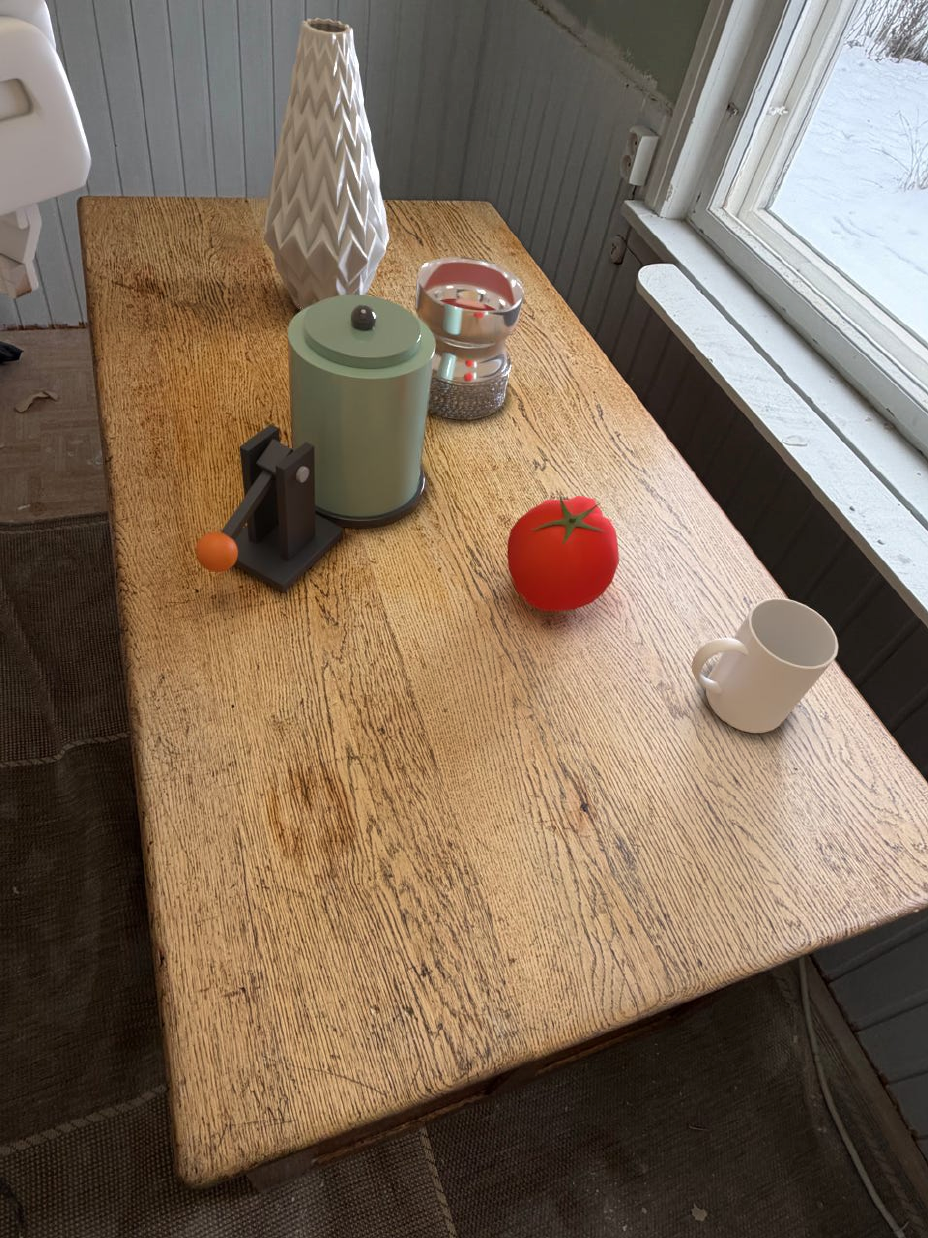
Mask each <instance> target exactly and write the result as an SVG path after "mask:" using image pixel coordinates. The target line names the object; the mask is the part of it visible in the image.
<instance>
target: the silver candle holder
mask: <svg viewBox="0 0 928 1238" xmlns="http://www.w3.org/2000/svg"><path fill="white" fill-rule="evenodd" d="M415 287H416V288H415V295H414V307H415V313H416V316H417V317H418V318H419V319H421V320H422V321H423V322H424V323H425V324H426V325H427V326H428V327H429V329H430V330H431V332H432V333H433V335H434V338H435V344H436V347H435V355H434V364H433V372H432V380H431V388H430V397H429V405H428V414H432V415H434V416H436V417H439V418H442V419H446V420H453V421H475V420H481V419H485V418H487V417H489V416H492V415H494V414H495V413H497V411H499V410H500V409H501V408H502V406H503V404H504V401H505V396H506V392H507V388H508V382H509V377H510V372H511V367H512V359H511V356H510V354H509V352H508V350H507V346H506V342H507V339H508V338H509V337H510V336H511V334H513V332H514V331H515V330H516V328H517V326H518V324H519V321H520V318H521V312H522V308H523V303H524V299H525V288H524V285H523V283H522V281H521V279H519V277H518V276H516V274H514V273H512V272H511V271H510V270H508V269H506V268H505V267H503V266H501V265H499V264H496V263H494V262H491V261H488V260H484V259H480V258H474V257H466V256H447V257H440V258H436V259H433V260H431V261H429V262H427V263H424V265H422V267H421V268H420V269H419V271H418V272H417V276H416V286H415Z"/></svg>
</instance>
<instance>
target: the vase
mask: <svg viewBox="0 0 928 1238" xmlns="http://www.w3.org/2000/svg"><path fill="white" fill-rule="evenodd" d="M300 29H301V30H300V34H299V36H298V42H297V46H296V52H295V61H294V63H293V66H292V70H291V77H290V87H289V96H288V99H287V104H286V108H285V112H284V116H283V120H282V127H281V130H280V134H279V141H278V144H277V145H278V146H277V151H276V155H275V157H274V164H273V173H272V177H271V182H270V187H269V191H268V195H267V202H266V210H265V214H264V219H263V227H264V231H263V241H264V242H265V243H266V245H267V246H268V248H269V249H270V251H271V252H272V254H273V260H274V265H275V268H276V270H277V273H278V274H279V276H280V278H281V280H282V283H283V284H284V286H285V288H286V290H287V291H288V294H289V295H290V298H291V300H292V303H293V304H294V306H295V307H296V308H297V309H298V310H299V312H300V311H302V310H303V309H305V308H307V307H309V306H311V305H314V304H315V303H317V302H319V301H321V300H324V299H326V298H330V297H334V296H340V295H367V294H368V293H369V291H370V288H371V286H372V283H373V282H374V279H375V277H376V272H377V269H378V267H379V263H380V262H381V261H382V260H383V258H384V256H385V255H386V251H387V245H388V244H389V241H390V234H389V233H390V232H389V228H388V227H389V226H388V224H387V212H386V207H385V204H384V201H383V197H382V193H381V189H380V171H379V168H378V165H377V161H376V157H375V152H374V148H373V144H372V132H371V128H370V125H369V121H368V117H367V113H366V109H365V98H364V95H363V94H364V93H363V86H362V79H361V75H360V69H359V68H360V65H359V61H358V57H357V53H356V49H355V41H354V29H353V28H352V27H350V25H349V24H347V23H342V22H341V21H340V20H337V21H336V20H335V21H333V20H332V19H330V18H326V19H322V18H319V17H316V18H315V19H313V18H307V19H306V20H302V22H301V28H300ZM294 301H295V302H297V303H298V304H299V305H298V304H297V303H295V302H294ZM300 307H301V308H300ZM302 308H303V309H302Z"/></svg>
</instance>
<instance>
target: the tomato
mask: <svg viewBox="0 0 928 1238" xmlns="http://www.w3.org/2000/svg"><path fill="white" fill-rule="evenodd" d="M558 497H559V499H546V500H545V501H542V502H540V503H539V504H537V505H536V506H534V507H532V508H530V509H529V510H527V511H526V513H525V514H523V515H522V516H521V517H520V518H519V519H517V521H516V523H514V525H513V526H512V528H511V530H510V532H509V535H508V539H507V552H506V554H507V565H508V572H509V574H510V576H511V579H512V582H513V584H514V587H515V590H516V591H517V593H518V594H520V596H521V597H522V598H523V599H524V600H525V601H526V602H527V603H528V604H529V605H530V606H531V607H534V608H535V609H538V610H540V611H542V612H543V611H544V612H546V611H547V612H562V611H574V610H577V609H579V608H582V607H584V606H587V605H590V604H591V603H593V602H594V601H595V600H597V599H598V598H599V597H600V596H602V595H603V594H604V593H605V592H606V591H607V589H608V588H609V587H610V586H611V584H612V583H613V580H614V577H615V574H616V571H617V570H618V566H619V563H620V553H619V543H618V537H617V531H616V528H615V527H614V525H613V524H612V522H611V520H610V519H609V518H607V517H605V516H604V514H603V511H602V509H601V508H600V506H599V505H600V504H601V502H599V503H597V501H595V499H594V498H591V497H586V496H583V495H576V496H574V497H571V498H569V499H567V500H565V499H563V498H562V496H560V495H559V496H558Z"/></svg>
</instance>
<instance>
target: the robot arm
mask: <svg viewBox="0 0 928 1238" xmlns="http://www.w3.org/2000/svg"><path fill="white" fill-rule="evenodd" d="M91 166H92V157H91V151H90V147H89V143H88V139H87V135H86V133H85V128H84V125H83V121H82V119H81V115H80V112H79V109H78V105H77V103H76V99H75V96H74V93H73V90H72V88H71V85H70V82H69V79H68V76H67V74H66V70H65V68H64V66H63V63H62V61H61V58H60V57H59V54H58V52H57V44H56V39H55V34H54V29H53V25H52V21H51V16H50V11H49V8H48V6H47V4H46V0H0V293H1V294H2V295H8V296H9V298H11V299H13V300H16V299H18V298H19V299H20V298H21V297H23V296H26V295H28V294H31V293H32V292H35V291H37V290H39V287H40V285H39V281H38V278H37V273H36V270H35V267H34V263H33V260H34V259H35V256H36V251H37V247H38V242H39V236H40V233H41V229H42V226H43V220H42V217H41V213H40V210H39V206H38V204H39V203H42V202H45V201H48V200H51V199H53V198H57V197H59V196H62V195H66V194H68V193H71V192H74V191H76V190H80V189H81V188H83V187H84V186H85V185H86V183H87V180H88V177H89V174H90V170H91Z"/></svg>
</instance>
